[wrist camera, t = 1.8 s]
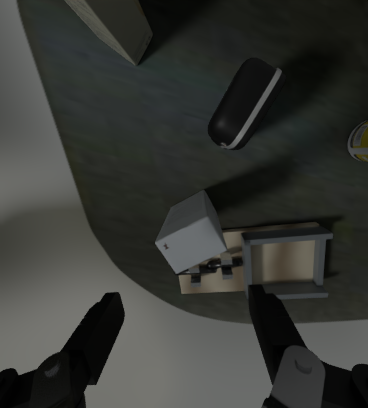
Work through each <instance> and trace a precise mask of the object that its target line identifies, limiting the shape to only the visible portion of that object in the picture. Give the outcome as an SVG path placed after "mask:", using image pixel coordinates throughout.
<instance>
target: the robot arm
mask: <svg viewBox="0 0 368 408" xmlns="http://www.w3.org/2000/svg"><path fill="white" fill-rule="evenodd" d="M248 301H249V311H250V316H251V319H252V322H253V326H254V329H255V332H256V335H257V338H258V341H259V345H260V348H261V351H262V354H263V357H264V360H265V363H266V367H267V370H268V373H269V376H270V379H271V382H272V385H273V388H272V391H271V393H270V396H269V398H266V399H265V400H264V403H263V405H262V408H368V365H367V364H357V365H355V366H354V367H353V368H352V371H349V370H346V369H342V368H339V367H335V366H332V365H329V364H327V363H325V362H323V361H321V360H320V359H319V358H318V357H317V356H316V355H315V354H314V353H313V352H311V351H310V350H309V349H308V348H307V347H306V345H305V343H304V341H303V340H302V338H301V336H300V334H299V333H298V331H297V329H296V327H295V325H294V323H293V322H292V320H291V318H290V317H289V314H288V312H287V311H286V310H285V307H284V305H283V303H282V302H281V300H280V299H279V298H278V297H277V296H276V295H274V294H273V293H266V292H265V290H264V288H263V286H262V284H252V285H248ZM124 317H125V312H124V308H123V304H122V301H121V297H120V294H119V293H118V292H113V293H105V295H104V296H103V298H102V299H101V301H100V302H97V303H96V304H95V305H93V307H91V308H90V309H89V311H88V312H87V313H86V315H85V316H84V319H82V321H81V322H80V324H79V325H78V327H77V328H76V330H75V331H74V332H73V334H72V335H71V337H70V338H69V340H68V341H67V343H66V344H65V345H64V347H63V348H62V350H61V351H60V352H57V353H55V354H53V355H52V356H50V357H48V358H47V359H46V360H44V362H42V363H41V365H40V366H39V367H38V368H37V369H36V370H33V371H30V372H27V373H24V374H22V375H18V373H17V371H16V370H15V369H13V368H10V369H5V370H3V371H1V372H0V408H86V402H85V395H84V391H85V389H86V387H87V385H96V384H97V382H98V379H99V377H100V375H101V373H102V370H103V368H104V366H105V363H106V361H107V359H108V356H109V354H110V352H111V350H112V347H113V345H114V343H115V340H116V338H117V336H118V334H119V331H120V329H121V326H122V324H123V322H124Z"/></svg>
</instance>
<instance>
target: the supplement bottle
mask: <svg viewBox="0 0 368 408" xmlns="http://www.w3.org/2000/svg"><path fill="white" fill-rule="evenodd" d="M348 150H349V153H350V154H351V156H352V157H354V158H355V159H357V160H359V161H366V162H368V120H366V121H364V122H362V123H361V124H359V125H358V126H357V127H356V128H355V129H354V130H353V131H352V133H351V134H350V137H349V139H348Z"/></svg>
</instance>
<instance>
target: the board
mask: <svg viewBox="0 0 368 408" xmlns="http://www.w3.org/2000/svg"><path fill="white" fill-rule="evenodd" d="M317 226H319V224H318V223H316V222H308V223H297V224H286V225H274V226H263V227H252V228H241V229H229V230H222V233H223V236H224V239H225V243H226V246H227V251H230V254H231V258H232V259H241V260H242V248H241V233H247V232H258V231H270V230H282V229H293V228H305V227H317ZM314 247H315V240H311V241H298V242H285V243H272V244H259V245H250V249H251V271H252V284H276V283H295V282H313V264H314ZM213 260H220V254H218V255H216V256H214V257H212V258H210V259H207V260H205V261H203V262H201V263H200V266H207V262H208V261H213ZM231 268H232V272H233V279H227V280H223V278H222V272H221V268H217V272H216V273H209V274H201V287H192V288H191V275H179V280H180V286H181V292H182V294H187V293H207V292H227V291H244V281H243V264H242V266H240V267H231Z"/></svg>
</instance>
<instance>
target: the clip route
mask: <svg viewBox="0 0 368 408" xmlns="http://www.w3.org/2000/svg"><path fill="white" fill-rule="evenodd" d="M240 266H242V260H241V259H232V258H231V254H230V251H225V252H223V253H220V260H213V261H208V262H207V266H200V263H199V264H197V265H195V266H193V267H191V268H188V269H186V270H184V271H182V272H180V273H178V274H176V273H175V271H174V274H175V275H191V288H192V287H201V274H209V273H216V272H217V268H221V272H222V278H223V280H227V279H233V272H232V268H231V267H240Z"/></svg>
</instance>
